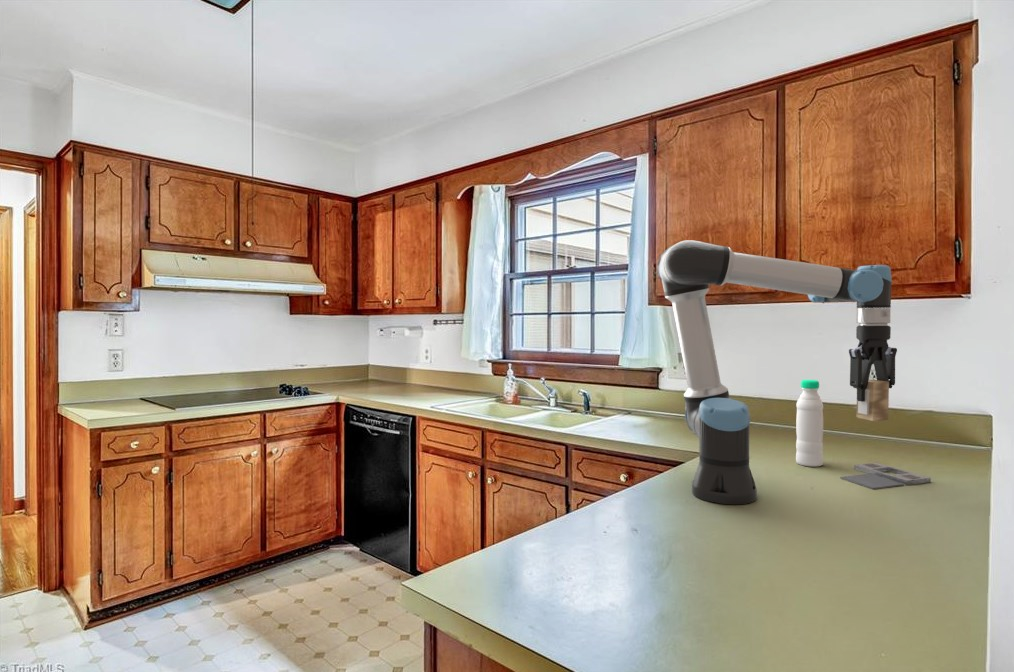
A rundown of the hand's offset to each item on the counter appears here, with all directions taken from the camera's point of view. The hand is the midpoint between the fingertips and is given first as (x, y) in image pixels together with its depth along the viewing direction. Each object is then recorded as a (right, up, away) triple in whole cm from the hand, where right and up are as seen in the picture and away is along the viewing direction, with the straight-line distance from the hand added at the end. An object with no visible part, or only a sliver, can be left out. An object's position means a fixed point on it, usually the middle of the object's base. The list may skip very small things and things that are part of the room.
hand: (872, 412), depth 149 cm
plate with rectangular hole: (+9, -18, +6) cm, 21 cm away
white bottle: (-7, -18, +19) cm, 27 cm away
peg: (0, -2, 0) cm, 2 cm away
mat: (0, -18, +1) cm, 18 cm away
